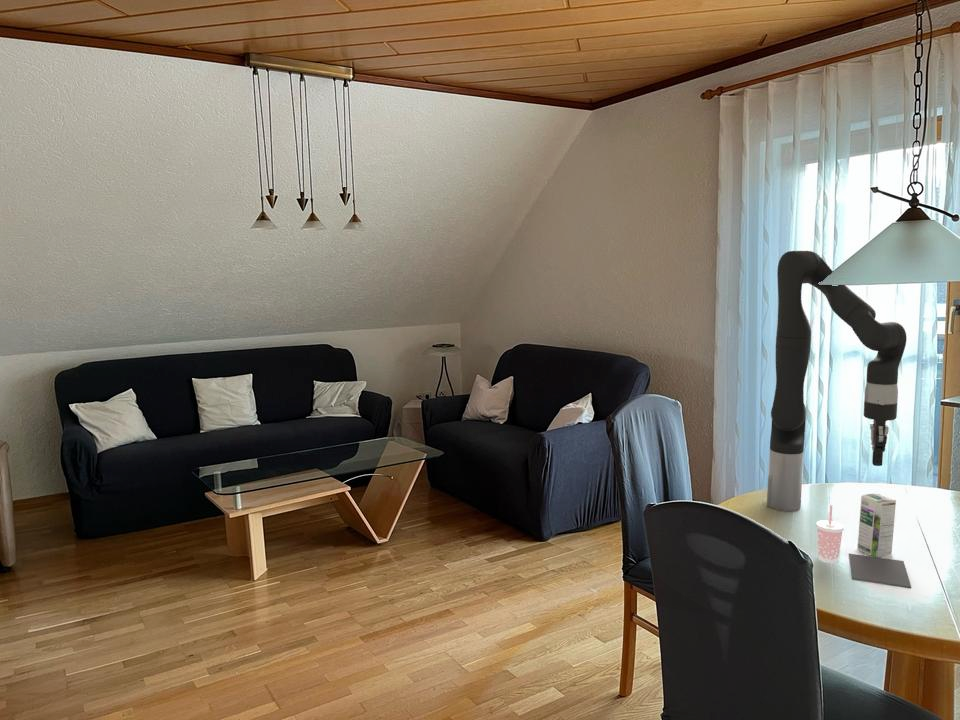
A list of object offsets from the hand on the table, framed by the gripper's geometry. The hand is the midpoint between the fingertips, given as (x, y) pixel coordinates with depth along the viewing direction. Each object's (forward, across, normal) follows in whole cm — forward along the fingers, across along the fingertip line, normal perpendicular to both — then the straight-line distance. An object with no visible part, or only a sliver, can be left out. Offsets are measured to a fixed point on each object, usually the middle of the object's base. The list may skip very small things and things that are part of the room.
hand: (877, 465), depth 192 cm
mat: (+20, +21, 0) cm, 29 cm away
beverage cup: (+20, +19, -11) cm, 30 cm away
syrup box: (+20, +10, 0) cm, 23 cm away
